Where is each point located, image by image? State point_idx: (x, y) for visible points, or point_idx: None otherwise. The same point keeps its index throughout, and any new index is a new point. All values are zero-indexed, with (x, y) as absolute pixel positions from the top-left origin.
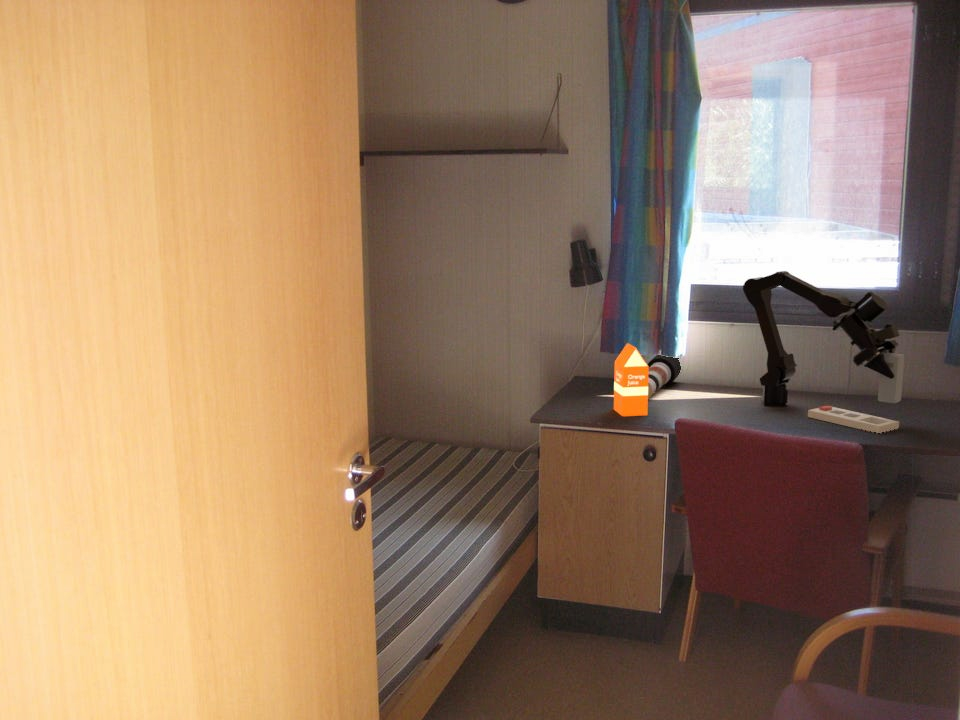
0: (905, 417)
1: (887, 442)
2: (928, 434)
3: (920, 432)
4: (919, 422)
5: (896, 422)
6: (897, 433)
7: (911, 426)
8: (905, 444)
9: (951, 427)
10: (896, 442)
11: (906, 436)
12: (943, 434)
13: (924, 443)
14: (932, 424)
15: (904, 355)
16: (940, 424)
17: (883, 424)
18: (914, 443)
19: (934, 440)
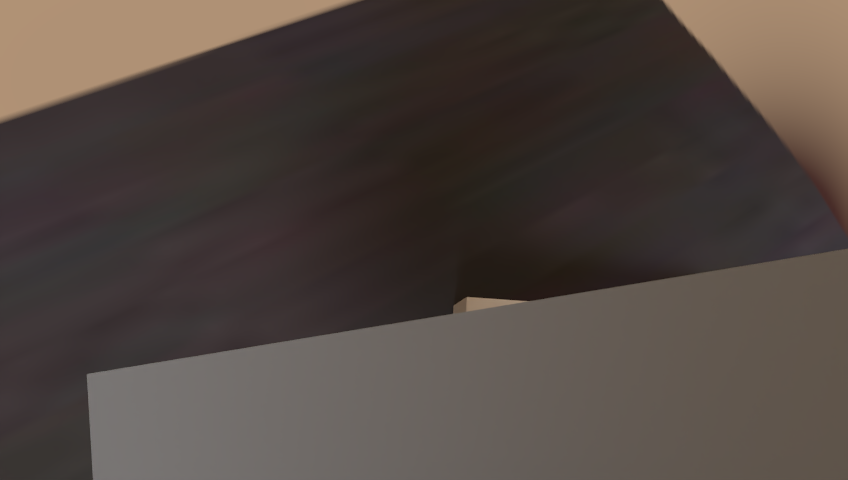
0: (35, 477)
1: (788, 184)
2: (431, 107)
3: (424, 162)
4: (134, 304)
5: (501, 299)
6: (569, 247)
7: (312, 281)
8: (738, 100)
9: (112, 82)
10: (746, 151)
11: (587, 175)
12: (354, 46)
13: (636, 41)
14: (124, 209)
15: (109, 378)
16: (76, 170)
17: None
18: (681, 77)
19: (532, 29)
